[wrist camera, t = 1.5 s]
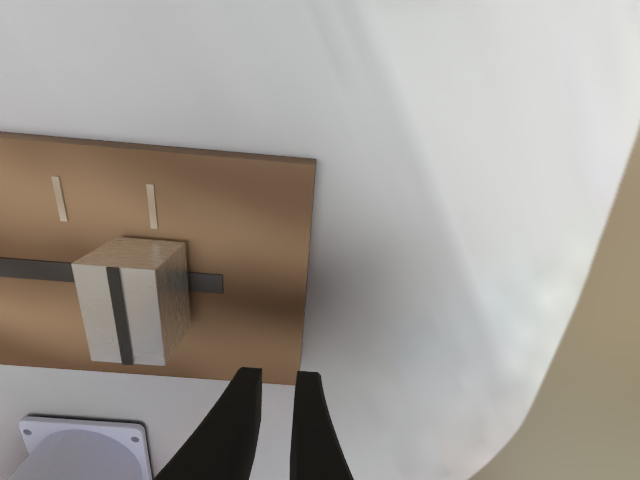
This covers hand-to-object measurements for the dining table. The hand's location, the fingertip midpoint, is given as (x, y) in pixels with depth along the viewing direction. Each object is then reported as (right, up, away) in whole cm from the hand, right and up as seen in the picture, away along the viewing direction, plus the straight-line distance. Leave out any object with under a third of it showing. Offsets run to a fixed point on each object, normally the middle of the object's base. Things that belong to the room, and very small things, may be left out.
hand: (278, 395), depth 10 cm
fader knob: (-6, +3, +5) cm, 9 cm away
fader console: (-12, +4, +8) cm, 15 cm away
